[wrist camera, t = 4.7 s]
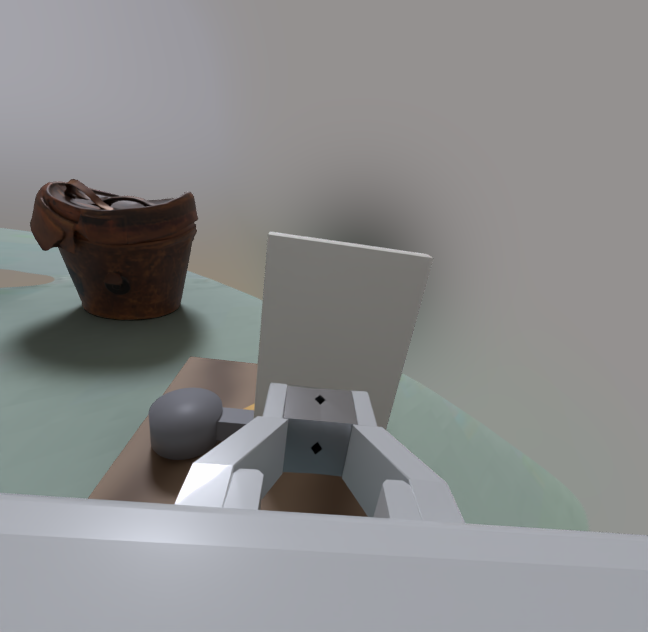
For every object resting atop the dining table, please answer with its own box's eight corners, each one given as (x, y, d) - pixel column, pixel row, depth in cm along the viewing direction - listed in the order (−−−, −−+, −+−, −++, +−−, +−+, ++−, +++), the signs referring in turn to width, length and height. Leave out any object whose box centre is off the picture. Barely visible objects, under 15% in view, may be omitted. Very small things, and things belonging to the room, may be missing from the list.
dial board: (84, 524, 19) (80, 506, 19) (190, 368, 36) (190, 355, 35) (402, 545, 21) (408, 529, 20) (363, 386, 38) (365, 374, 37)
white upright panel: (137, 456, 22) (114, 218, 16) (167, 409, 27) (158, 211, 21) (383, 477, 23) (445, 265, 17) (371, 429, 28) (417, 248, 22)
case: (33, 295, 47) (7, 163, 40) (169, 281, 62) (167, 182, 55) (68, 345, 37) (41, 180, 30) (220, 314, 52) (225, 198, 45)
